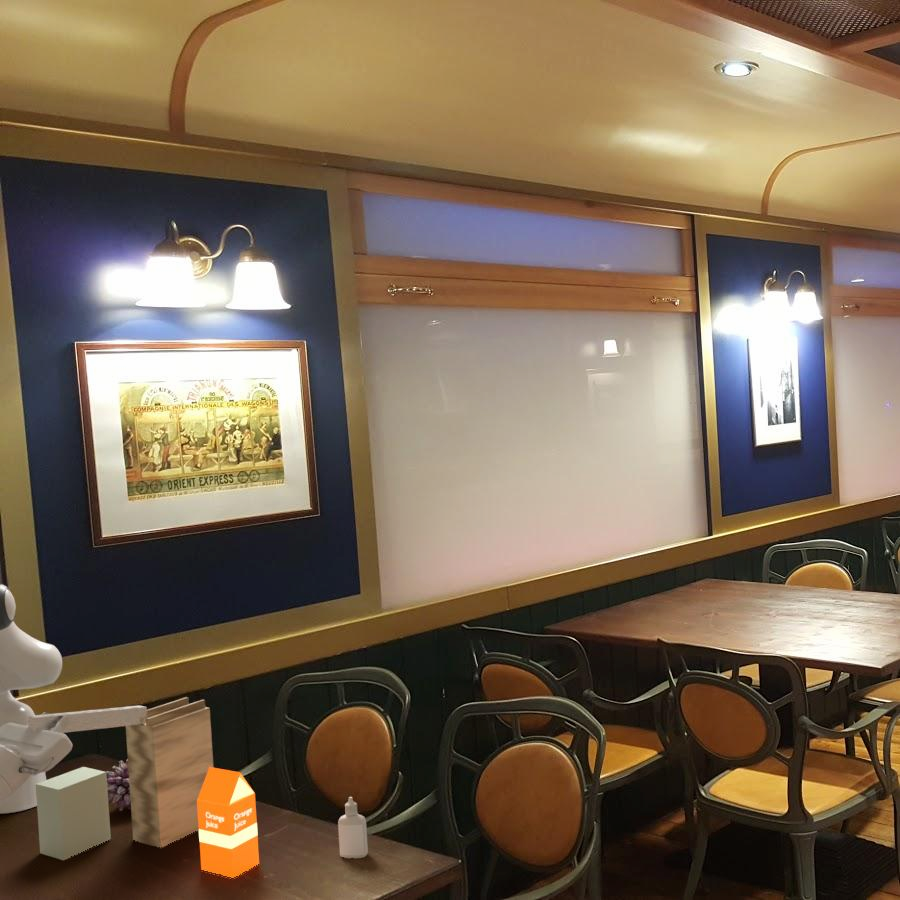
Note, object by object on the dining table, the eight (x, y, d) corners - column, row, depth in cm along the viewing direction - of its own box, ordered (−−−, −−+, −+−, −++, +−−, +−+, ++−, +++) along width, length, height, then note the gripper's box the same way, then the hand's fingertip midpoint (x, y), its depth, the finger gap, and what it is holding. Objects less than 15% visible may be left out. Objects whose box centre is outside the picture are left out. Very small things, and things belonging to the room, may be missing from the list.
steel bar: (27, 733, 210) (28, 716, 210) (138, 721, 226) (139, 705, 227) (34, 735, 207) (35, 717, 208) (146, 723, 224) (146, 706, 224)
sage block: (40, 853, 223) (35, 783, 223) (87, 833, 233) (83, 766, 233) (63, 860, 219) (58, 789, 218) (110, 839, 229) (106, 771, 228)
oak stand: (133, 840, 227) (124, 715, 227) (189, 815, 241) (181, 696, 240) (160, 848, 222) (152, 719, 222) (216, 821, 236) (209, 700, 235)
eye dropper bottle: (356, 862, 210) (352, 803, 209) (336, 856, 213) (333, 798, 213) (371, 854, 213) (367, 796, 213) (351, 848, 217) (348, 791, 216)
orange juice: (232, 879, 205) (226, 778, 204) (200, 871, 210) (194, 772, 209) (260, 863, 212) (254, 766, 211) (228, 856, 216) (222, 760, 216)
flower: (110, 823, 238) (107, 771, 238) (99, 808, 249) (96, 758, 248) (161, 811, 244) (158, 761, 244) (148, 796, 254) (145, 748, 254)
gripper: (29, 764, 196) (81, 711, 206) (-32, 750, 208) (20, 699, 217) (46, 787, 199) (97, 733, 208) (-15, 772, 210) (35, 721, 220)
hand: (57, 716), depth 213 cm, fingers closed on steel bar, 4 cm apart
